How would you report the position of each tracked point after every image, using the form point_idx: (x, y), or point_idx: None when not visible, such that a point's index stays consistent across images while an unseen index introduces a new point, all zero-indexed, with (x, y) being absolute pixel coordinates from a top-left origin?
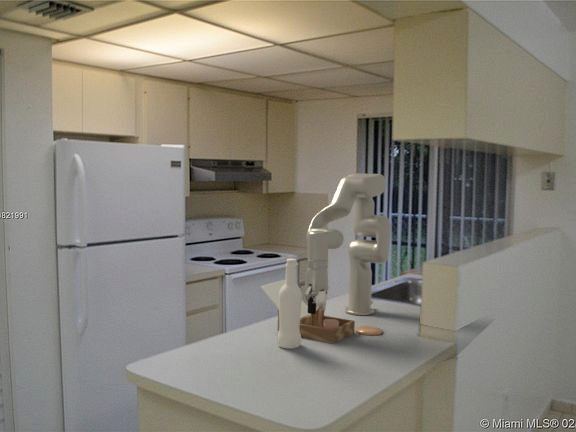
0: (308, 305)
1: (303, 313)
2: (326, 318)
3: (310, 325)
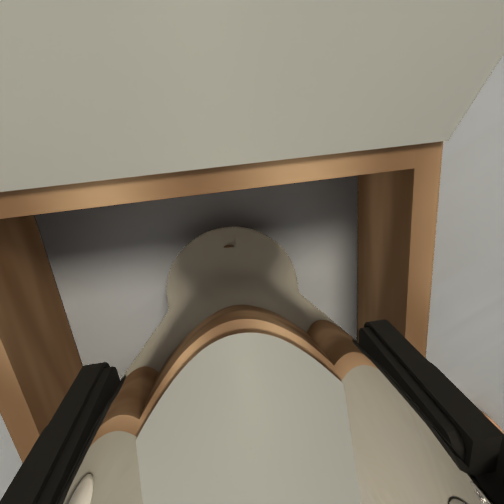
0: (33, 473)
1: (275, 127)
2: (397, 301)
3: (169, 289)
